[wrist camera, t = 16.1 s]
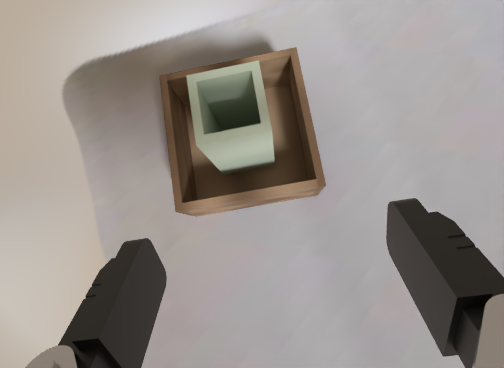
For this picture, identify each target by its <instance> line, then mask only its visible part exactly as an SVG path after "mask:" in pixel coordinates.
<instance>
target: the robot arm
mask: <svg viewBox="0 0 504 368" xmlns="http://www.w3.org/2000/svg"><path fill="white" fill-rule="evenodd" d="M386 239H387V246H388V250H389V253H390V256H391V258H392V260H393V262H394V264H395V266H396V268H397V269H398V271H399V273H400V275H401V277H402V279H403V281H404V283H405V285H406V287H407V289H408V291H409V292H410V294H411V296H412V298H413V300H414V302H415V304H416V306H417V308H418V310H419V312H420V313H421V315H422V317H423V319H424V321H425V323H426V325H427V327H428V329H429V331H430V333H431V334H432V336H433V338H434V340H435V342H436V344H437V346H438V348H439V350H440V352H441V354H442V355H443V356H453V355H459V357H460V359H461V361H462V362H463V364H464V366H465V368H504V277H503V276H502V275H501V274H500V273H499V272H498V270H497V269H496V268H495V267H494V266H493V265H492V264H491V263H490V261H489V260H488V259H487V258H486V257H485V256H484V255H483V254H482V252H481V251H480V250H479V249H478V248H476V247H475V244H474V243H473V242H472V241H471V240H470V239H469V238H468V237H466V236H465V233H464V232H463V231H462V230H461V229H460V228H459V226H458V225H457V224H456V223H455V222H454V221H453V220H451V219H449V218H447V217H446V216H444V215H442V214H441V213H439V212H431V213H428V212H427V211H426V209H425V208H424V207H423V206H422V204H421V203H420V202H419V201H418V200H417V199H416V198H412V199H405V200H399V201H392V202H389V204H388V213H387V236H386ZM165 287H166V271H165V268H164V266H163V264H162V262H161V260H160V258H159V256H158V254H157V252H156V250H155V248H154V246H153V244H152V242H151V241H150V240H149V239H148V238H145V239H139V240H132V241H126V242H124V243H123V245H122V246H121V248H120V250H119V252H118V254H117V256H116V258H112V259H111V260H110V261H109V262H108V263H107V264H106V265H105V266H104V267H103V268H102V269H101V270H100V271H99V273H98V275H97V276H96V278H95V280H94V282H93V284H92V287H91V288H90V289H89V291H88V293H87V295H86V299H84V300H83V301H82V303H81V305H80V307H79V309H78V311H77V312H76V314H75V316H74V318H73V319H72V321H71V323H70V325H69V326H68V328H67V330H66V332H65V334H64V336H63V337H62V339H61V341H60V343H59V344H58V346H55V347H52V348H50V349H48V350H46V351H44V352H42V353H41V354H40V355H38V356H37V357H36V358H34V359H33V360H32V361H31V362H30V363H29V364H28V365H27V366H26V367H25V368H141V366H142V363H143V360H144V356H145V353H146V350H147V346H148V343H149V340H150V336H151V333H152V330H153V327H154V323H155V320H156V317H157V313H158V310H159V307H160V303H161V300H162V297H163V294H164V290H165Z"/></svg>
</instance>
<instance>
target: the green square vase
mask: <svg viewBox="0 0 504 368" xmlns="http://www.w3.org/2000/svg"><path fill="white" fill-rule="evenodd" d="M186 77H187V84H188V91H189V98H190V105H191V112H192V120H193V127H194V134H195V141H196V146H197V147H198V148H199V149H200V150H201V151H202V152H203V153H204V154H205V155H206V156H207V157H208V159H209V160H210V161H211V162H212V163H213V164H214V165H215V166H216V167H217V168H218V169H219V170H220V171H221V172H222V174H223V175H224V176H225V175H230V174H236V173H241V172H246V171H252V170H257V169H262V168H268V167H273V166H275V158H274V147H273V135H272V127H271V122H270V117H269V112H268V106H267V101H266V96H265V91H264V85H263V80H262V75H261V70H260V64H259V60H258V61H254V62H249V63H244V64H239V65H234V66H230V67H225V68H220V69H215V70H211V71H206V72H201V73H196V74H192V75H187V76H186Z"/></svg>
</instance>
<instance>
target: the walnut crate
mask: <svg viewBox="0 0 504 368" xmlns="http://www.w3.org/2000/svg"><path fill="white" fill-rule="evenodd" d="M258 60H259V64H260V70H261V75H262V80H263V85H264V91H265V96H266V101H267V106H268V112H269V117H270V122H271V127H272V135H273V147H274V158H275V166H273V167H268V168H262V169H257V170H252V171H246V172H241V173H236V174H230V175H225V176H224V175H223V174H222V172H221V171H220V170H219V169H218V168H217V167H216V166H215V165H214V164H213V163H212V162H211V161H210V160H209V159H208V157H207V156H206V155H205V154H204V153H203V152H202V151H201V150H200V149H199V148H198V147H197V146H196V141H195V134H194V127H193V120H192V112H191V105H190V98H189V91H188V84H187V77H186V76H187V75H192V74H196V73H201V72H206V71H211V70H215V69H220V68H225V67H230V66H234V65H239V64H244V63H249V62H254V61H258ZM160 84H161V92H162V101H163V109H164V118H165V126H166V134H167V143H168V151H169V160H170V168H171V177H172V185H173V193H174V202H175V210H176V212H179V213H183V214H187V215H191V216H202V215H207V214H213V213H219V212H224V211H230V210H236V209H241V208H247V207H253V206H258V205H264V204H270V203H276V202H281V201H287V200H293V199H298V198H304V197H310V196H315V195H318V194H319V192H320V191H321V190H322V189H323V188H324V187H325V186H326V183H325V179H324V174H323V169H322V165H321V160H320V155H319V151H318V146H317V141H316V137H315V132H314V127H313V123H312V118H311V113H310V109H309V104H308V99H307V95H306V90H305V86H304V81H303V76H302V72H301V67H300V62H299V58H298V53H297V48H296V47H295V48H290V49H286V50H281V51H276V52H271V53H266V54H262V55H257V56H252V57H247V58H242V59H238V60H233V61H228V62H223V63H218V64H214V65H209V66H204V67H199V68H194V69H190V70H185V71H180V72H175V73H170V74H166V75H161V76H160Z"/></svg>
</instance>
